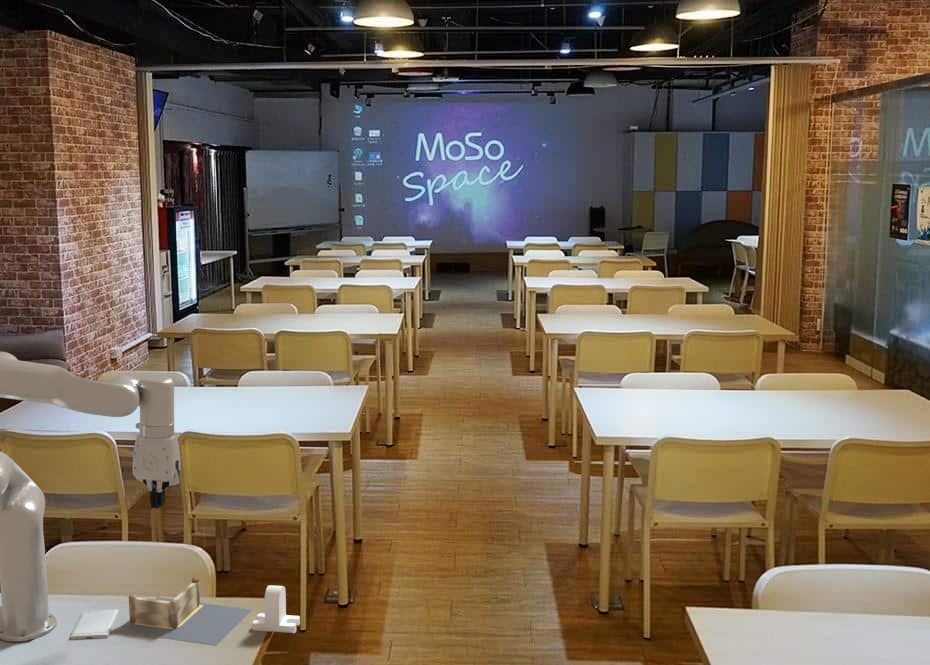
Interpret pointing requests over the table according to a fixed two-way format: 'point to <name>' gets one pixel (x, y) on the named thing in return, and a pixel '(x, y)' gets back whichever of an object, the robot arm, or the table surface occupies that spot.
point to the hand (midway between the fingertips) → (157, 506)
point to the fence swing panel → (185, 602)
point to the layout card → (194, 624)
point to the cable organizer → (276, 613)
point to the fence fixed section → (149, 611)
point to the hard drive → (95, 624)
